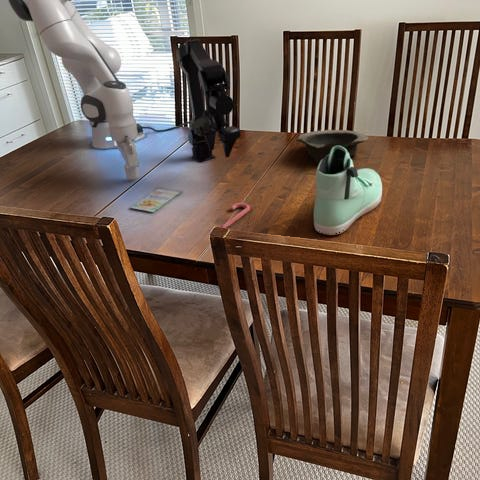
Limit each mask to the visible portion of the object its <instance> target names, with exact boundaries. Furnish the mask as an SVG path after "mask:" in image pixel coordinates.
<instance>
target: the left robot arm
mask: <svg viewBox="0 0 480 480" xmlns="http://www.w3.org/2000/svg"><path fill="white" fill-rule="evenodd" d="M8 4H9V6H10V9H11V10H12V11H13V13H14V14H15V15H16V16H17V17H18V18H19V19H20V20H21V21H22V20H23V21H24V22H33V24H34V26H35V28H36V30H37V32H38V34H39V36H40V38H41V40H42V42H43V43H44V45H45V47H46V48H47V49H48V50H49V51H50V52H51V54H54V55H55V56H57V57H60V58H61V64H62V66H63V68H64V69H65V71H67V72H68V73H69V74H70V75H72V77H73V78H74V79H75V81H76V82H77V85H79V87H80V89H81V92H82V94H83V96H82V97H81V99H80V110H81V113H82V114H83V117H85V119H86V120H88V122H89V125H90V127H91V128H90V129H91V137H92V138H91V140H92V141H91V147H92V148H94V149H98V150H107V149H118V151H119V153H120V155H121V157H122V158H123V161H124V162H125V164H127V165H128V167H129V170H130V174H131V175H135V174H136V171H135V167H138V168H139V167H140V159H139V154H138V150H137V147H136V144H135V142H137V141H139V140H141V139H143V138H145V137H146V135H145V133H144V130H145V129H146V130H147V129H148V130H152V131H153V132H156V133H163V132H169V131H171V130H175V129H178V128H181V127H183V126H186V125H190V123H191V120H189V121H186V122H184V123H181V124H179V125H176V126H173V127H169V128H166V129H156V128H153V127H151V126H142V124H140V123H137V121H136V119H135V116H134V104H133V100H132V96H131V95H132V94H131V93H130V90H129V87H128V85H127V84H126V83H125V82H122V81H120V80H119V79H118V77H117V75H115V74H117V73H118V72H119V71H120V70H121V67H122V58H121V54H120V53H119V52H118V50H117V49H116V48H114V47H112V46H110V45H108V44H107V43H106V42H104V40H102V39H101V38H100V37H98V36H97V34H95V32H93V31H92V29H90V27H89V26H88V25H87V23H86V22H85V21H84V19H83V17H82V16H81V14H80V13H79V11H78V9H77V8H76V6H75V5H74V3H73V1H72V0H8Z"/></svg>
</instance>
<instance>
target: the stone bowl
mask: <svg viewBox="0 0 480 480" xmlns="http://www.w3.org/2000/svg"><path fill="white" fill-rule="evenodd" d="M368 139H369V137H368V136H367V135H366V134H365V133H363V132H359V131H356V130H347V129H345V130H343V129H325V130H314V131H309V132H305V133H302V134H300V135H299V136H298V138H297V139H296V141H297V142H300V143H301V144H304V145H305V148H306V152H307V153H308V155H309V156H311V157H312V158H313V159H314V162H315V163H316V164H317V165H319V163H320V161H321V160H322V159H324V158H325V157H326V156H327V155H329V154H330V152H331V149H332V148H333V147H334V146H342V147H344V148H345V149H346V150H347V152H348V153H349V156H350V159H354V158H355V157H356V155H357V154H356V153H357V147H358V145H359V144H361V143H364V142H365V141H368Z"/></svg>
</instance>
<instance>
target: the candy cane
mask: <svg viewBox="0 0 480 480" xmlns="http://www.w3.org/2000/svg"><path fill="white" fill-rule="evenodd" d="M238 208H239V209H240V208H244V209H242V210H241V211H240V212H238V213H237V214H235V215H234V216H233V217H232V218H230V219H229V220H227V221H226V222H224V223H223V224H222V225H221V226H220V228H221V227H226V229H227V228H229V227H230V226H231V225H233V224H234V223H236V222H237V221H238V220H240V219H241V218H242V217H244V216H245V215H246V214H248V213H249V212H250V211H251V206H250V204H248V203H246V202H237V203H234V204H231V206H230V207H229V209H230V211H232V212H233V211H235V210H236V209H238Z"/></svg>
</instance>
